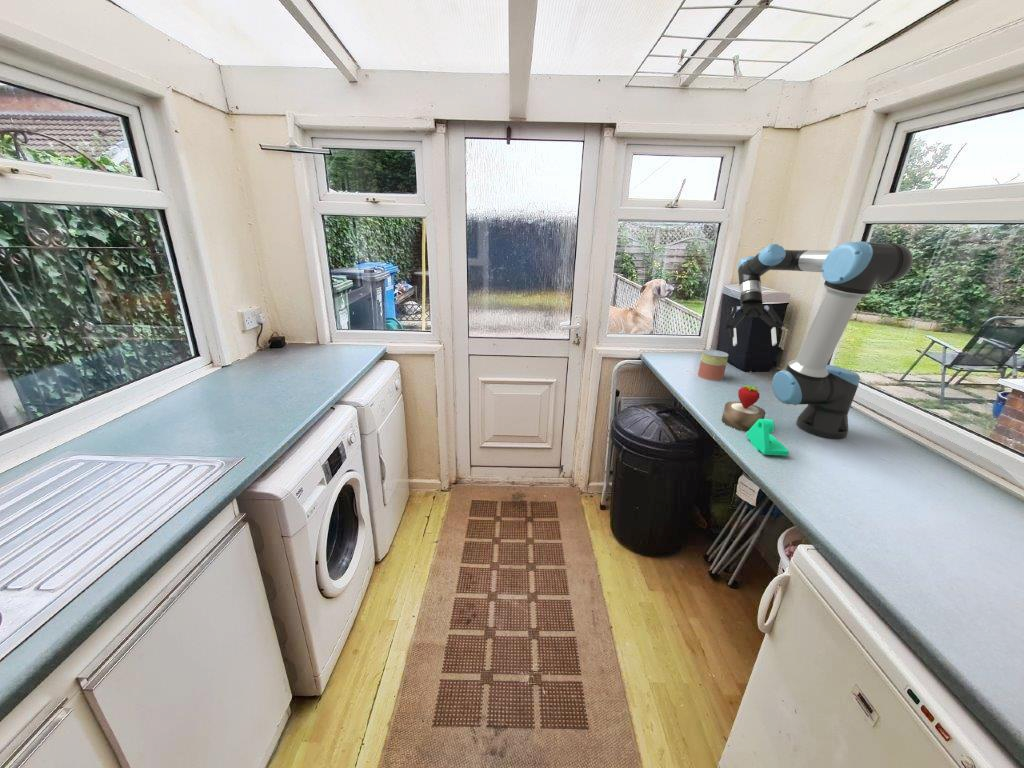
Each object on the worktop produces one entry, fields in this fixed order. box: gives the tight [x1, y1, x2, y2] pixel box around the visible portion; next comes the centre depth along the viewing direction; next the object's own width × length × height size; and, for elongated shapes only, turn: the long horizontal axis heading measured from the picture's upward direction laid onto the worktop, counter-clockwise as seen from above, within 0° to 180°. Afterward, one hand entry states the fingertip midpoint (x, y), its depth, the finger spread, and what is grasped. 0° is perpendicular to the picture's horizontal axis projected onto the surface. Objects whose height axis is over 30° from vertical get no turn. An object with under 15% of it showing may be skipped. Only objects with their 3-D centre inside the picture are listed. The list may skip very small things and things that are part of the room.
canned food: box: [697, 349, 730, 382], centre depth 198 cm, size 11×11×12 cm
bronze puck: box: [721, 400, 766, 432], centre depth 152 cm, size 13×13×6 cm
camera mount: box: [745, 418, 789, 457], centre depth 134 cm, size 12×8×10 cm, turn 176°
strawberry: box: [737, 382, 760, 408], centre depth 149 cm, size 6×8×10 cm
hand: (754, 344), depth 160 cm, fingers open, 13 cm apart
